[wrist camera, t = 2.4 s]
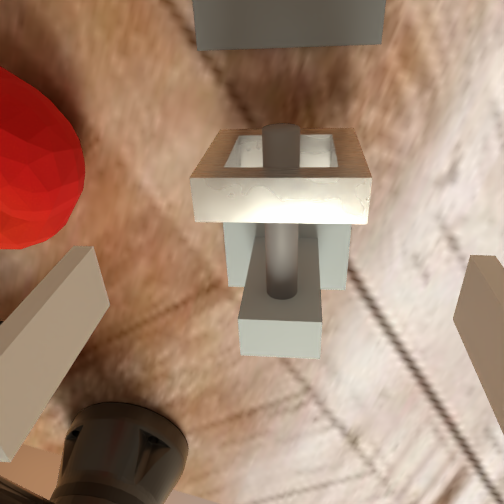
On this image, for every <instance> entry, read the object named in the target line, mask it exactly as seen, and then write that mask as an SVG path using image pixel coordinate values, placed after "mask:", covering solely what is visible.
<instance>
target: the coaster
mask: <svg viewBox="0 0 504 504" xmlns="http://www.w3.org/2000/svg"><path fill="white" fill-rule="evenodd" d="M192 1H193V11H194V21H195V31H196V41H197V51H207V50H235V49H263V48H291V47H319V46H347V45H375V44H381V42H382V32H383V23H384V14H385V4H386V0H192Z"/></svg>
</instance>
